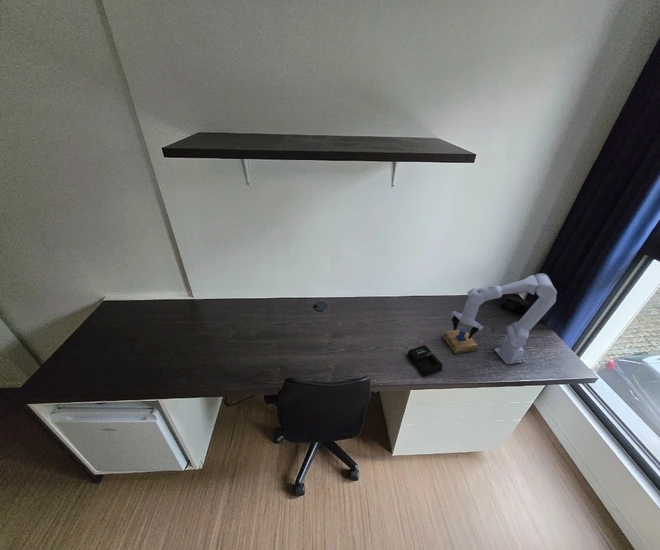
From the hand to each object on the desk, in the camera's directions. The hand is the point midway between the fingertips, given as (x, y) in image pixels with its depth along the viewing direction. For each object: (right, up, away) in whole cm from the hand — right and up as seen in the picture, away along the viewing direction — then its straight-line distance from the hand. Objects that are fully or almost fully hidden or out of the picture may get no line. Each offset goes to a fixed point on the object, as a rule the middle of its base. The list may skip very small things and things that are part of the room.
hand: (462, 333), depth 142 cm
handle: (0, -6, +4) cm, 7 cm away
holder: (0, -6, +4) cm, 7 cm away
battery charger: (-21, -12, -7) cm, 26 cm away
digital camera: (+43, +8, +27) cm, 51 cm away
